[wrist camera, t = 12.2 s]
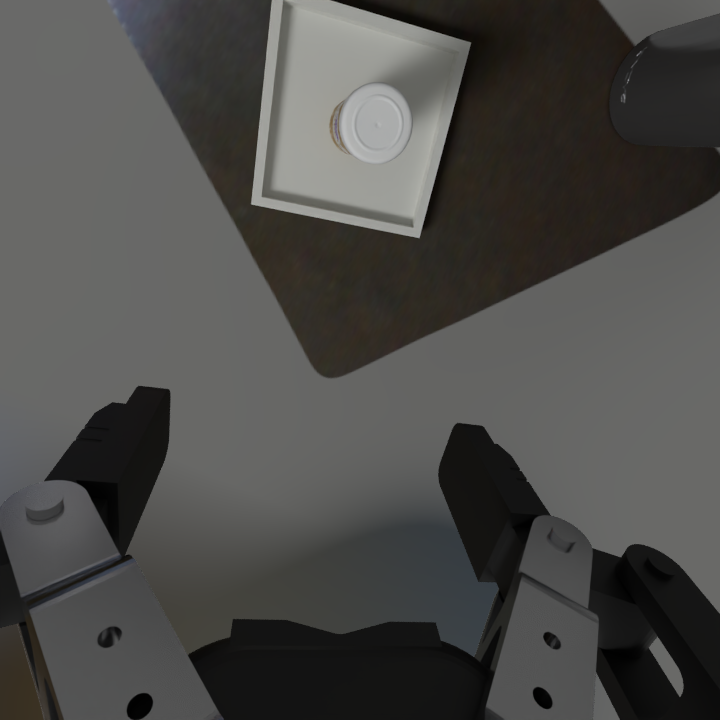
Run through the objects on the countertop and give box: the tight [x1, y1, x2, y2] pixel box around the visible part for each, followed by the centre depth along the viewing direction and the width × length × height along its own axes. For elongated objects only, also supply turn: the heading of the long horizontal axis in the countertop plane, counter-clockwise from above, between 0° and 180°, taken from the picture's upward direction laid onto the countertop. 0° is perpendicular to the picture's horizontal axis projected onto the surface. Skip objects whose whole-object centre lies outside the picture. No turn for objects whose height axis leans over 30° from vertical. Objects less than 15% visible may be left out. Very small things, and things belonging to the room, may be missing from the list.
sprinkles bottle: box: [329, 82, 413, 164], centre depth 33 cm, size 5×5×13 cm
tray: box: [251, 0, 471, 238], centre depth 39 cm, size 16×16×2 cm
